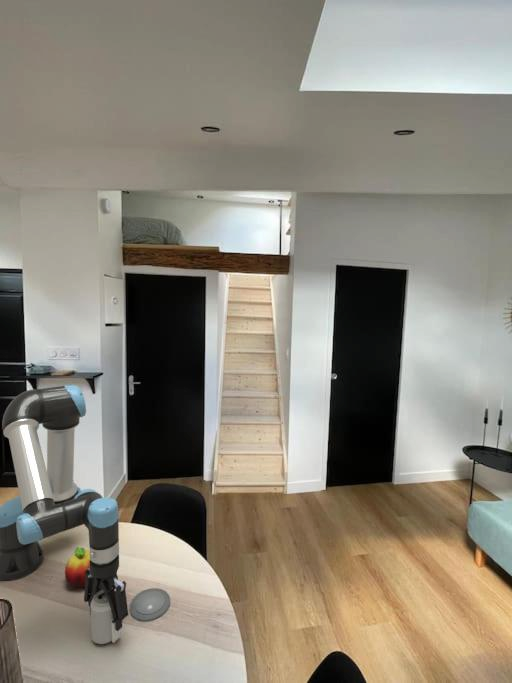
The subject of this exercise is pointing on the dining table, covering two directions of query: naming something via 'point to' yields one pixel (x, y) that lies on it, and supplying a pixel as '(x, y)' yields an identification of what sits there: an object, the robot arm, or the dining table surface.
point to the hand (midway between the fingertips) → (106, 632)
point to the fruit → (77, 567)
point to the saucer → (149, 604)
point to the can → (101, 618)
